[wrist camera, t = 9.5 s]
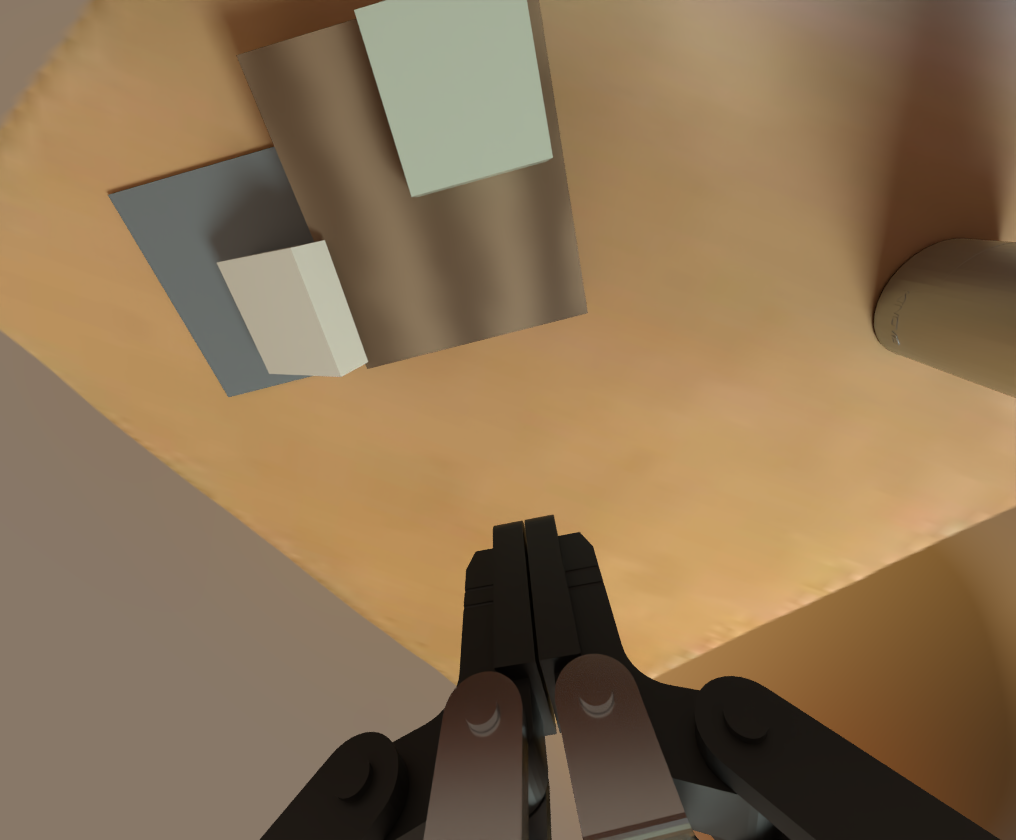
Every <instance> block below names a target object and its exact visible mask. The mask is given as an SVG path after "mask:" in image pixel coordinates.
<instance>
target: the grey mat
mask: <svg viewBox="0 0 1016 840" xmlns="http://www.w3.org/2000/svg"><path fill="white" fill-rule="evenodd" d="M108 196H109V198H110V199H111V201H112V203H113V204H114V206H115V208H116V209H117V211H118V213H119V214H120V216H121V218H122V219H123V221H124V223H125V224H126V226H127V228H128V230H129V231H130V233H131V235H132V236H133V238H134V240H135V241H136V243H137V245H138V246H139V248H140V250H141V251H142V253H143V255H144V256H145V258H146V260H147V261H148V263H149V265H150V266H151V268H152V270H153V271H154V273H155V275H156V276H157V278H158V280H159V281H160V283H161V285H162V287H163V288H164V290H165V292H166V293H167V295H168V297H169V298H170V300H171V302H172V303H173V305H174V307H175V308H176V310H177V312H178V313H179V315H180V317H181V318H182V320H183V322H184V323H185V325H186V327H187V328H188V330H189V332H190V333H191V335H192V337H193V338H194V340H195V342H196V343H197V345H198V347H199V349H200V350H201V352H202V354H203V355H204V357H205V359H206V360H207V362H208V364H209V365H210V367H211V369H212V370H213V372H214V374H215V375H216V377H217V379H218V380H219V382H220V384H221V385H222V387H223V389H224V390H225V392H226V394H227V395H228V397H231V396H235V395H239V394H243V393H247V392H251V391H255V390H259V389H263V388H267V387H271V386H275V385H279V384H283V383H286V382H290V381H294V380H298V379H302V378H306V377H310V376H309V375H286V374H269V372H268V370H267V368H266V366H265V364H264V362H263V360H262V357H261V355H260V353H259V351H258V349H257V347H256V345H255V343H254V341H253V338H252V336H251V334H250V332H249V330H248V328H247V326H246V324H245V322H244V319H243V317H242V315H241V313H240V311H239V309H238V307H237V305H236V303H235V301H234V298H233V296H232V294H231V292H230V290H229V288H228V286H227V284H226V282H225V279H224V277H223V275H222V273H221V271H220V269H219V267H218V265H217V262H221V261H226V260H230V259H235V258H239V257H243V256H248V255H253V254H258V253H263V252H268V251H273V250H278V249H283V248H288V247H293V246H298V245H303V244H308V243H313V242H314V240H313V237H312V235H311V233H310V230H309V228H308V226H307V223H306V221H305V218H304V216H303V214H302V211H301V209H300V206H299V204H298V202H297V199H296V197H295V194H294V192H293V190H292V187H291V185H290V182H289V180H288V178H287V175H286V173H285V171H284V168H283V166H282V163H281V161H280V159H279V156H278V154H277V151H276V149H275V147H272V148H268V149H265V150H261V151H258V152H254V153H251V154H247V155H244V156H241V157H237V158H234V159H230V160H227V161H223V162H220V163H216V164H213V165H209V166H206V167H203V168H199V169H196V170H192V171H189V172H185V173H182V174H178V175H175V176H172V177H168V178H165V179H161V180H158V181H154V182H151V183H147V184H144V185H141V186H137V187H134V188H130V189H127V190H123V191H120V192H116V193H113V194H110V195H108Z"/></svg>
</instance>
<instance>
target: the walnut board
mask: <svg viewBox="0 0 1016 840" xmlns="http://www.w3.org/2000/svg"><path fill="white" fill-rule="evenodd" d="M527 4H528V10H529V16H530V22H531V28H532V34H533V40H534V46H535V52H536V58H537V64H538V70H539V77H540V83H541V89H542V95H543V101H544V107H545V113H546V119H547V125H548V131H549V137H550V143H551V149H552V155H553V158H552V159H550V160H548V161H547V162H543V163H539V164H536V165H532V166H528V167H525V168H521V169H518V170H514V171H510V172H507V173H503V174H499V175H496V176H492V177H489V178H485V179H481V180H478V181H474V182H471V183H467V184H463V185H460V186H456V187H452V188H449V189H445V190H442V191H438V192H434V193H431V194H427V195H424V196H420V197H411V194H410V190H409V187H408V184H407V181H406V177H405V174H404V171H403V168H402V164H401V161H400V158H399V155H398V151H397V148H396V145H395V142H394V138H393V135H392V132H391V129H390V125H389V122H388V119H387V116H386V112H385V109H384V106H383V103H382V99H381V96H380V93H379V90H378V86H377V83H376V80H375V77H374V73H373V70H372V67H371V64H370V60H369V57H368V54H367V51H366V47H365V44H364V41H363V38H362V34H361V31H360V28H359V25H358V21H357V19H354V20H350V21H347V22H344V23H341V24H337V25H334V26H331V27H327V28H324V29H321V30H318V31H314V32H311V33H308V34H305V35H301V36H298V37H295V38H291V39H288V40H285V41H282V42H278V43H275V44H272V45H269V46H265V47H262V48H259V49H255V50H252V51H249V52H246V53H242V54H239V55H236V56H237V58H238V61H239V63H240V65H241V68H242V70H243V73H244V75H245V77H246V80H247V82H248V84H249V87H250V89H251V92H252V94H253V96H254V99H255V101H256V104H257V106H258V108H259V111H260V113H261V116H262V118H263V120H264V123H265V125H266V128H267V130H268V132H269V135H270V137H271V139H272V142H273V144H274V147H275V149H276V151H277V154H278V156H279V159H280V161H281V163H282V166H283V168H284V171H285V173H286V175H287V178H288V180H289V182H290V185H291V187H292V190H293V192H294V194H295V197H296V199H297V202H298V204H299V206H300V209H301V211H302V214H303V216H304V218H305V221H306V223H307V226H308V228H309V230H310V233H311V235H312V237H313V240H314V242H318V241H323V240H325V242H326V245H327V248H328V250H329V253H330V256H331V259H332V262H333V264H334V267H335V270H336V273H337V276H338V278H339V281H340V284H341V287H342V290H343V293H344V295H345V298H346V301H347V304H348V307H349V309H350V312H351V315H352V318H353V321H354V323H355V326H356V329H357V332H358V335H359V337H360V340H361V343H362V346H363V349H364V351H365V354H366V357H367V360H368V362H367V363H366V367H367V369H369V368H373V367H377V366H381V365H385V364H389V363H393V362H397V361H401V360H405V359H409V358H412V357H416V356H420V355H424V354H428V353H432V352H436V351H440V350H444V349H448V348H452V347H456V346H460V345H464V344H468V343H472V342H476V341H480V340H484V339H488V338H491V337H495V336H499V335H503V334H507V333H511V332H515V331H519V330H523V329H527V328H531V327H535V326H539V325H543V324H547V323H551V322H555V321H559V320H563V319H567V318H570V317H574V316H578V315H582V314H586V313H588V312H587V305H586V299H585V292H584V286H583V280H582V273H581V267H580V260H579V254H578V248H577V241H576V235H575V228H574V222H573V216H572V209H571V203H570V196H569V190H568V184H567V177H566V171H565V164H564V158H563V152H562V145H561V139H560V132H559V126H558V120H557V113H556V107H555V100H554V94H553V88H552V81H551V75H550V68H549V62H548V56H547V49H546V43H545V36H544V30H543V24H542V17H541V11H540V4H539V0H527Z"/></svg>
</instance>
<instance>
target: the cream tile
mask: <svg viewBox="0 0 1016 840" xmlns="http://www.w3.org/2000/svg"><path fill="white" fill-rule="evenodd" d="M217 265H218V267H219V269H220V271H221V273H222V275H223V277H224V279H225V282H226V284H227V286H228V288H229V290H230V292H231V294H232V296H233V298H234V301H235V303H236V305H237V307H238V309H239V311H240V313H241V315H242V317H243V319H244V322H245V324H246V326H247V328H248V330H249V332H250V334H251V336H252V338H253V341H254V343H255V345H256V347H257V349H258V351H259V353H260V355H261V357H262V360H263V362H264V364H265V366H266V368H267V370H268V372H269V374H286V375H309V376H333V377H342V376H344V375H345V374H347V373H349V372H351V371H353V370H355V369H356V368H358V367H360V366H362V365H364V364H366V363H367V362H368V360H367V357H366V354H365V351H364V349H363V346H362V343H361V340H360V337H359V335H358V332H357V329H356V326H355V323H354V321H353V318H352V315H351V312H350V309H349V307H348V304H347V301H346V298H345V295H344V293H343V290H342V287H341V284H340V281H339V278H338V276H337V273H336V270H335V267H334V264H333V262H332V259H331V256H330V253H329V250H328V248H327V245H326V242H325V240H323V241H318V242H313V243H308V244H303V245H298V246H293V247H288V248H283V249H278V250H273V251H268V252H263V253H258V254H253V255H248V256H243V257H239V258H235V259H230V260H226V261H221V262H217Z"/></svg>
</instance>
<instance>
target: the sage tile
mask: <svg viewBox="0 0 1016 840" xmlns="http://www.w3.org/2000/svg"><path fill="white" fill-rule="evenodd" d="M354 11H355V15H356V18H357V21H358V25H359V28H360V31H361V34H362V38H363V41H364V44H365V47H366V51H367V54H368V57H369V60H370V64H371V67H372V70H373V73H374V77H375V80H376V83H377V86H378V90H379V93H380V96H381V99H382V103H383V106H384V109H385V112H386V116H387V119H388V122H389V125H390V129H391V132H392V135H393V138H394V142H395V145H396V148H397V151H398V155H399V158H400V161H401V164H402V168H403V171H404V174H405V177H406V181H407V184H408V187H409V190H410V194H411V197H420V196H424V195H427V194H431V193H434V192H438V191H442V190H445V189H449V188H452V187H456V186H460V185H463V184H467V183H471V182H474V181H478V180H481V179H485V178H489V177H492V176H496V175H499V174H503V173H507V172H510V171H514V170H518V169H521V168H525V167H528V166H532V165H536V164H539V163H543V162H547V161H548V160H550V159H552V158H553V155H552V149H551V143H550V137H549V131H548V125H547V119H546V113H545V107H544V101H543V95H542V89H541V83H540V77H539V70H538V64H537V58H536V52H535V46H534V40H533V34H532V28H531V22H530V16H529V10H528V4H527V0H385V1H382V2H379V3H375V4H372V5H369V6H366V7H362V8H359V9H356V10H354Z"/></svg>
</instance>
